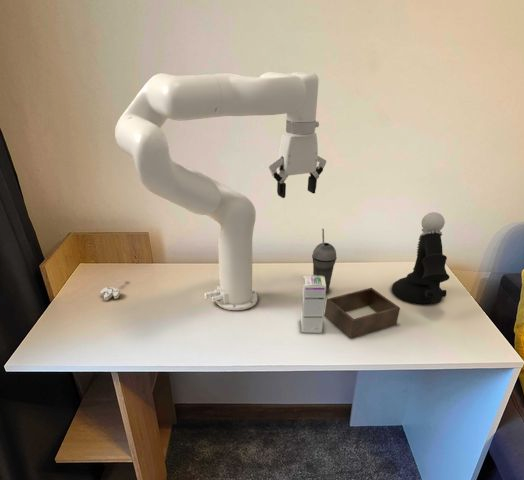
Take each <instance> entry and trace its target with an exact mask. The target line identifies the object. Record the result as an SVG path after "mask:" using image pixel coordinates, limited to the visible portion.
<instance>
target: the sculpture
mask: <svg viewBox="0 0 524 480" xmlns="http://www.w3.org/2000/svg"><path fill="white" fill-rule="evenodd" d="M445 223H446V221H445V218H444V216H443V215H442V214H441V213H439V212H436V211H432V212H429V213H426V214H425V215H424V216H423V217H422V219H421V223H420V224H421V232H422V233H421V234H419V237H418V241H417V247H416V248H417V249H416V259H415V264H414V267H413V268H412V270H413V271H412V272H409V273H408V274H407V275H406V276H404V277H402V278H399V279H398V280H396V281H394V282H393V283H392V286H391V293H392V294H393V296H394V297H396V298H397V299H399V300H401V301H403V302H404V303H408V304H411V305H418V306H431V305H435V304H439V303H441V302H442V299H443V298H445V297H446V296H447V290H446V289H442V288H441V283H444V282H446V281H449V280H450V278H451V276H450V275H449V273H448V272H447V270H446V263H447V260H448V257H447V256H446V254H443V252H444V251H443V242H442V236H443V232H442V229H443V228H444V226H445Z"/></svg>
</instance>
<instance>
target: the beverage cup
mask: <svg viewBox="0 0 524 480" xmlns="http://www.w3.org/2000/svg"><path fill="white" fill-rule="evenodd" d="M321 237H322V239H321V241H322V242H321V243H319V244H317V245H316V246H315V248H314V249H313V251H312V255H311V257H312V267H313V269H312V270H313V271H312V275H320V276H325V282H326V294H325V295H327V294H328V293H329V290H330V285H331V281H332V276H333V271H334V266H335V264H336V261H337V251H336V248H335V246H333V245H332V244H331V243H329V242H325V228H322V229H321Z"/></svg>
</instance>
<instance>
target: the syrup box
mask: <svg viewBox="0 0 524 480" xmlns="http://www.w3.org/2000/svg"><path fill="white" fill-rule="evenodd" d="M301 295H302V296H301V311H300V327H301V329H300V330H301V333H306V334H307V333H309V334H311V333H312V334H322V333H323V326H324V317H325V308H326V295H327V294H326V282H325V276H320V275H313V274H309V275H303V279H302V293H301Z"/></svg>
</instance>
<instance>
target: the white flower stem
mask: <svg viewBox="0 0 524 480" xmlns="http://www.w3.org/2000/svg"><path fill="white" fill-rule="evenodd" d="M125 283H126V281H124V282H123V284H122V285H117V286H116V287H110V286H106V287H104V288H102V289H101V290H100V291H99V293H100V296H101V297H103V300H104V301H105V302H106V301H108V300H110V299H111V298H112V297H113V299H116V300H117V299H118V298H119V297H120V295H121V292H120V289H118V288H117V287H122V286H124V284H125Z"/></svg>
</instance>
